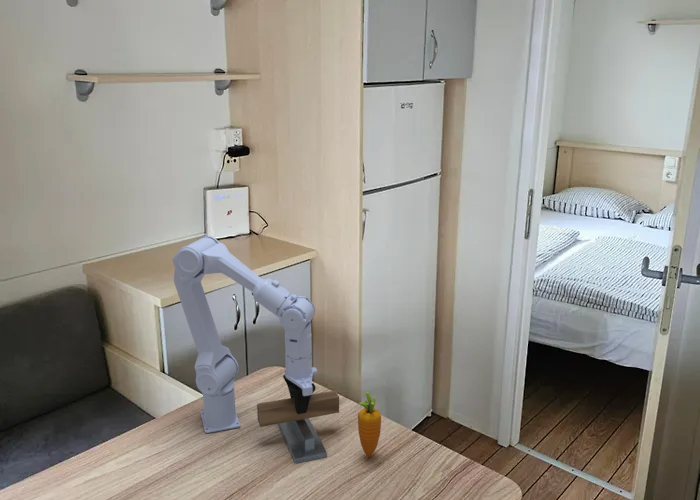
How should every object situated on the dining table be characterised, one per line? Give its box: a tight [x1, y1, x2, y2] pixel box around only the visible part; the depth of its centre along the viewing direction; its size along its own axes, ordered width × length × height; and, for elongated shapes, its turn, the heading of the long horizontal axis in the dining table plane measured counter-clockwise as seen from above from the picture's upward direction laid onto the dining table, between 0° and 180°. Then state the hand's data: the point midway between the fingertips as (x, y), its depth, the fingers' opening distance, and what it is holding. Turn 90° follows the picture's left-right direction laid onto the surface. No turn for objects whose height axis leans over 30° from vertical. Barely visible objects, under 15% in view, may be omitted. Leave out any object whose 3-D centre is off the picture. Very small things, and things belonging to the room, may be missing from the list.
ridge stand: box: [277, 418, 328, 465], centre depth 143 cm, size 18×7×5 cm, turn 20°
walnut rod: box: [256, 390, 340, 428], centre depth 141 cm, size 3×18×4 cm, turn 110°
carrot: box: [357, 391, 382, 458], centre depth 134 cm, size 5×5×15 cm
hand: (299, 408), depth 141 cm, fingers closed on walnut rod, 3 cm apart
